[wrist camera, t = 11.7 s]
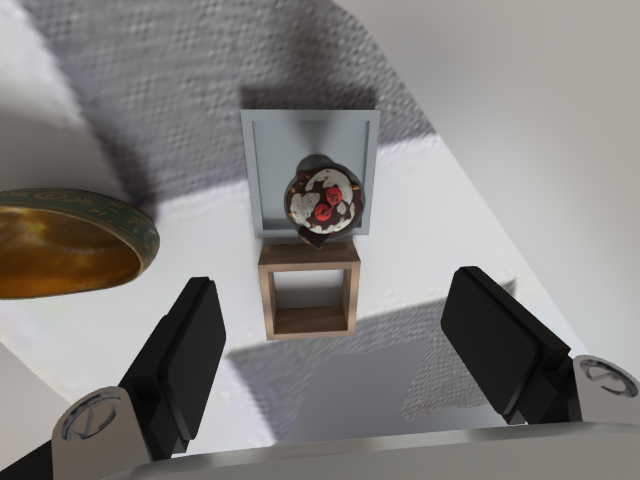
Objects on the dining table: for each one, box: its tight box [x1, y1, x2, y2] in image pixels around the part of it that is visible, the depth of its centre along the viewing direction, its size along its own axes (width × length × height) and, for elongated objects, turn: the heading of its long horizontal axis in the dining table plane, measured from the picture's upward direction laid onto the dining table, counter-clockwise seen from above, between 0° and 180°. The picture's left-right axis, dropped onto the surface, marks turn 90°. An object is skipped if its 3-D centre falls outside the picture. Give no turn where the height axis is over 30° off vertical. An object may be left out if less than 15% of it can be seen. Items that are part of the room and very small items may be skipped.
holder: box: [258, 242, 361, 340], centre depth 35 cm, size 12×12×5 cm
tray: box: [240, 110, 381, 238], centre depth 30 cm, size 14×14×2 cm
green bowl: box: [0, 188, 160, 300], centre depth 27 cm, size 13×20×10 cm, turn 57°
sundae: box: [284, 155, 366, 249], centre depth 23 cm, size 7×7×15 cm
